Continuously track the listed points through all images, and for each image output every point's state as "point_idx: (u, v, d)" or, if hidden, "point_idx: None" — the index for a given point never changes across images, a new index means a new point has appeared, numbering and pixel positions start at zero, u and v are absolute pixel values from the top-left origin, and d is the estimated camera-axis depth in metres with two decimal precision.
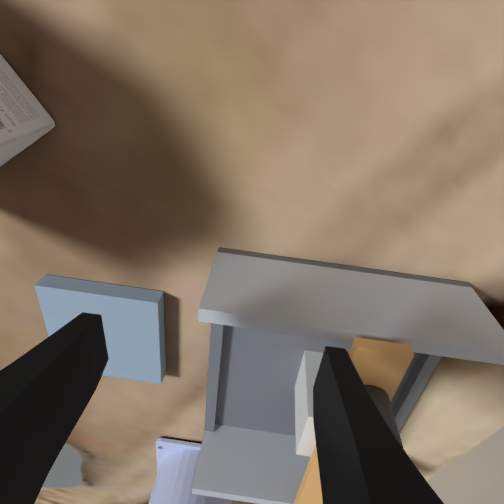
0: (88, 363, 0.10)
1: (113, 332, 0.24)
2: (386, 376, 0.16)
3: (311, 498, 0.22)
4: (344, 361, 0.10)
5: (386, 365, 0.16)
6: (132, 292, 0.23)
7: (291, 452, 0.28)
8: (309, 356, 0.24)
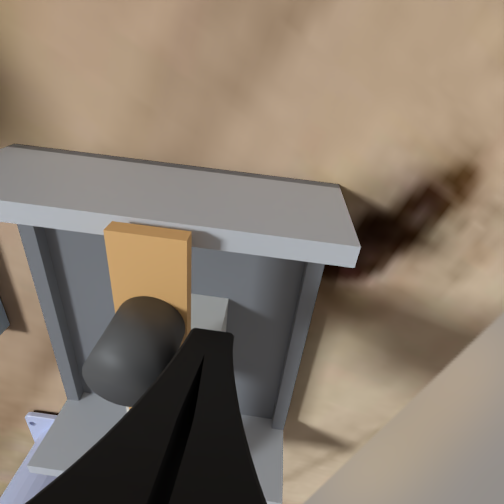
0: None
1: None
2: (165, 281, 0.11)
3: None
4: (222, 344, 0.10)
5: (156, 261, 0.11)
6: None
7: None
8: None
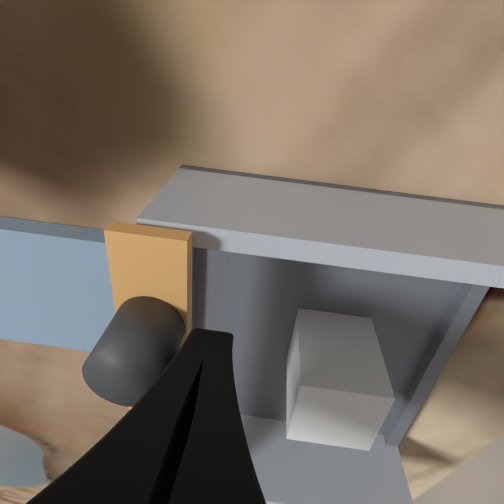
0: None
1: (54, 287, 0.19)
2: (165, 281, 0.11)
3: None
4: (222, 344, 0.10)
5: (156, 261, 0.11)
6: (75, 231, 0.18)
7: (284, 441, 0.23)
8: (303, 315, 0.18)
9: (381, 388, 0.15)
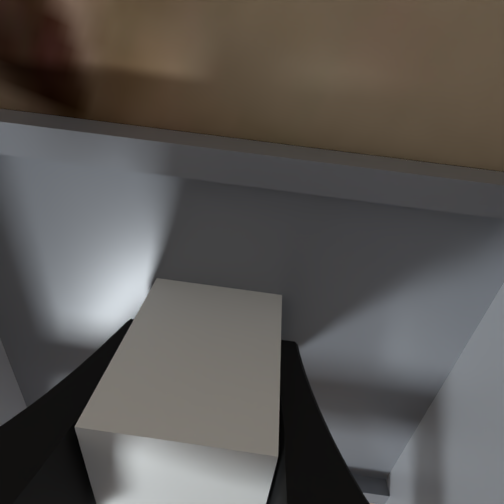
0: None
1: None
2: None
3: None
4: (291, 354, 0.10)
5: None
6: None
7: (457, 425, 0.11)
8: None
9: None
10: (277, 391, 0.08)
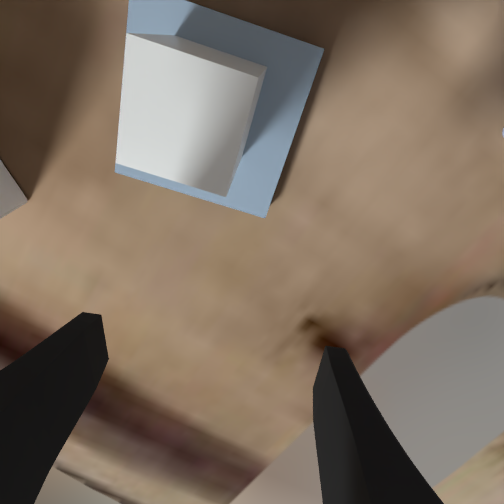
0: (88, 363, 0.10)
1: None
2: None
3: None
4: (344, 361, 0.10)
5: None
6: None
7: None
8: None
9: None
10: (260, 73, 0.12)
